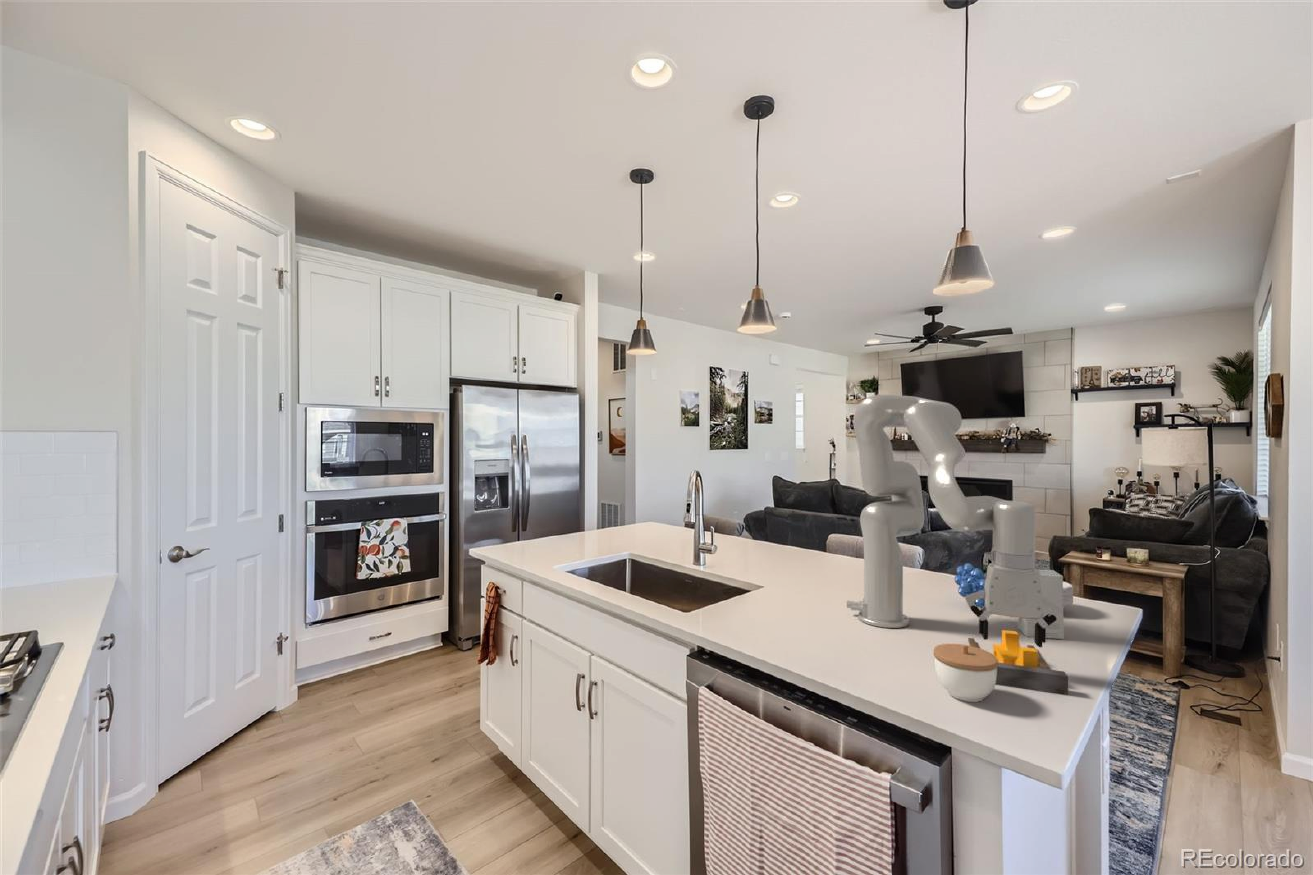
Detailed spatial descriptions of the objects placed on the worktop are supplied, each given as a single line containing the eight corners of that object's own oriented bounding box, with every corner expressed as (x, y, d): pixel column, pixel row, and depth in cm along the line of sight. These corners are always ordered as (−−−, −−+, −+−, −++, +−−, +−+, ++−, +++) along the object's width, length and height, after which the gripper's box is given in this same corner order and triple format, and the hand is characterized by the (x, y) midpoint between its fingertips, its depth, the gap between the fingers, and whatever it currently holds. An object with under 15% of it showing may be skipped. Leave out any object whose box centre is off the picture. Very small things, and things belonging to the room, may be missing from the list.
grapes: (944, 601, 163) (944, 561, 163) (961, 599, 166) (961, 559, 166) (978, 613, 152) (978, 570, 152) (996, 610, 155) (996, 568, 155)
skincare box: (1055, 631, 138) (1055, 569, 138) (1065, 641, 132) (1065, 576, 132) (1016, 628, 141) (1016, 567, 141) (1024, 636, 135) (1024, 573, 135)
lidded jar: (1003, 713, 98) (1003, 660, 98) (935, 701, 102) (935, 651, 102) (992, 687, 108) (992, 639, 108) (931, 678, 112) (931, 632, 112)
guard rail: (980, 681, 110) (980, 664, 110) (965, 640, 132) (965, 626, 132) (1067, 694, 105) (1067, 676, 105) (1036, 649, 127) (1036, 634, 127)
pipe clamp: (993, 658, 122) (993, 629, 122) (1015, 660, 121) (1015, 631, 121) (1013, 681, 111) (1013, 649, 111) (1037, 684, 110) (1038, 651, 110)
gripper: (968, 560, 115) (966, 641, 116) (1068, 569, 109) (1066, 655, 109) (963, 552, 122) (962, 629, 123) (1057, 560, 116) (1055, 641, 116)
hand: (1011, 641), depth 116 cm, fingers open, 9 cm apart
